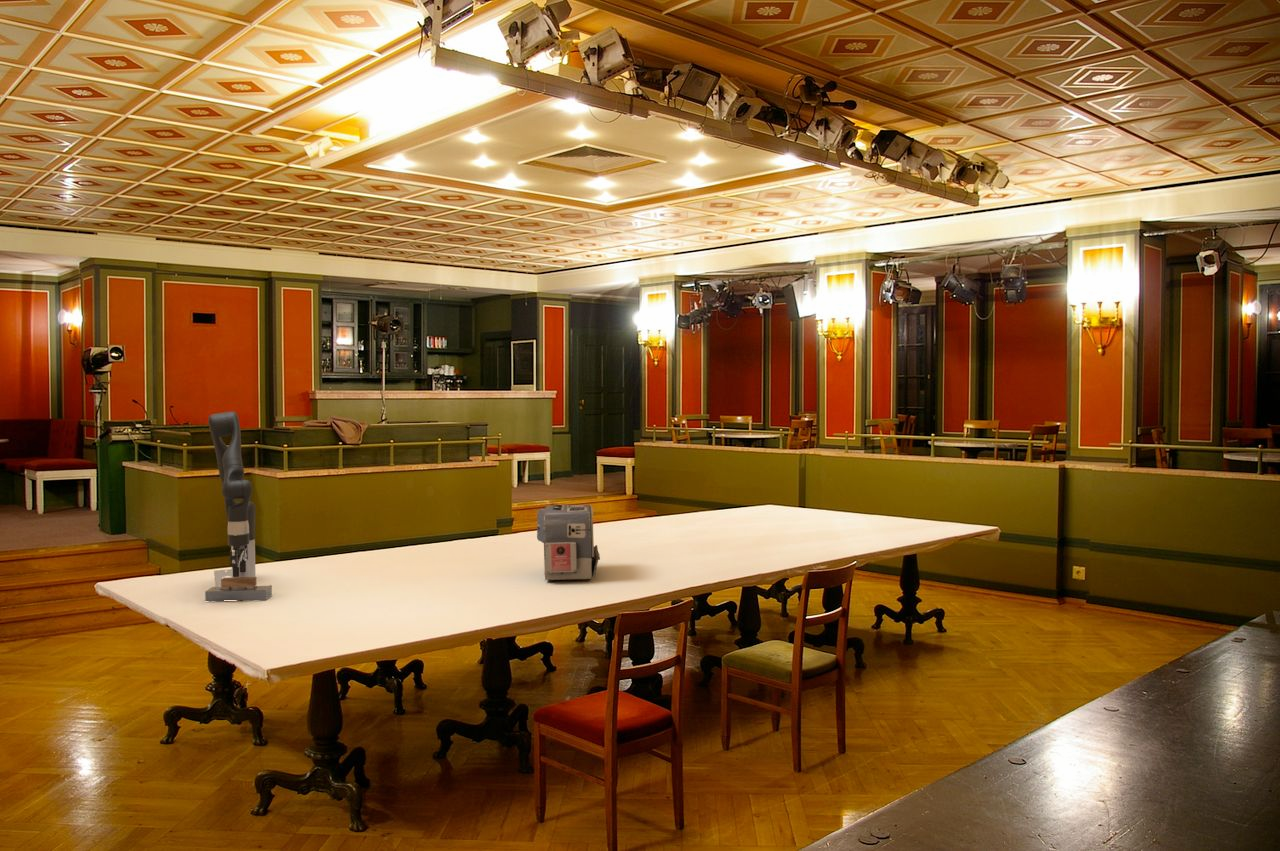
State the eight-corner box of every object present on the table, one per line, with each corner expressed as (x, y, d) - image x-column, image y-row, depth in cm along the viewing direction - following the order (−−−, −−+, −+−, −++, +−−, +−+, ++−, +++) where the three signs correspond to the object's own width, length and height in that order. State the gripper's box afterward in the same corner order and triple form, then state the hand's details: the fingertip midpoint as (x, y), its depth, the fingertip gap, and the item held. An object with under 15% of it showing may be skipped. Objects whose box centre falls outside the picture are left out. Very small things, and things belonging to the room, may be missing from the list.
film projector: (598, 585, 384) (597, 511, 383) (526, 585, 385) (525, 511, 383) (604, 566, 423) (603, 500, 422) (538, 567, 424) (538, 500, 423)
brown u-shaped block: (224, 598, 363) (223, 577, 363) (256, 597, 364) (256, 576, 364) (221, 600, 360) (221, 579, 359) (254, 599, 361) (253, 578, 361)
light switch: (216, 591, 367) (214, 568, 378) (216, 603, 370) (213, 580, 381) (240, 589, 371) (237, 566, 382) (240, 601, 374) (236, 578, 385)
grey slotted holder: (212, 597, 364) (212, 587, 364) (271, 595, 367) (271, 585, 367) (205, 602, 357) (205, 591, 356) (265, 600, 359) (265, 589, 359)
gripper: (234, 529, 367) (235, 571, 368) (222, 535, 353) (223, 578, 354) (254, 529, 368) (255, 570, 369) (243, 535, 354) (244, 578, 355)
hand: (239, 574), depth 362 cm, fingers open, 8 cm apart
